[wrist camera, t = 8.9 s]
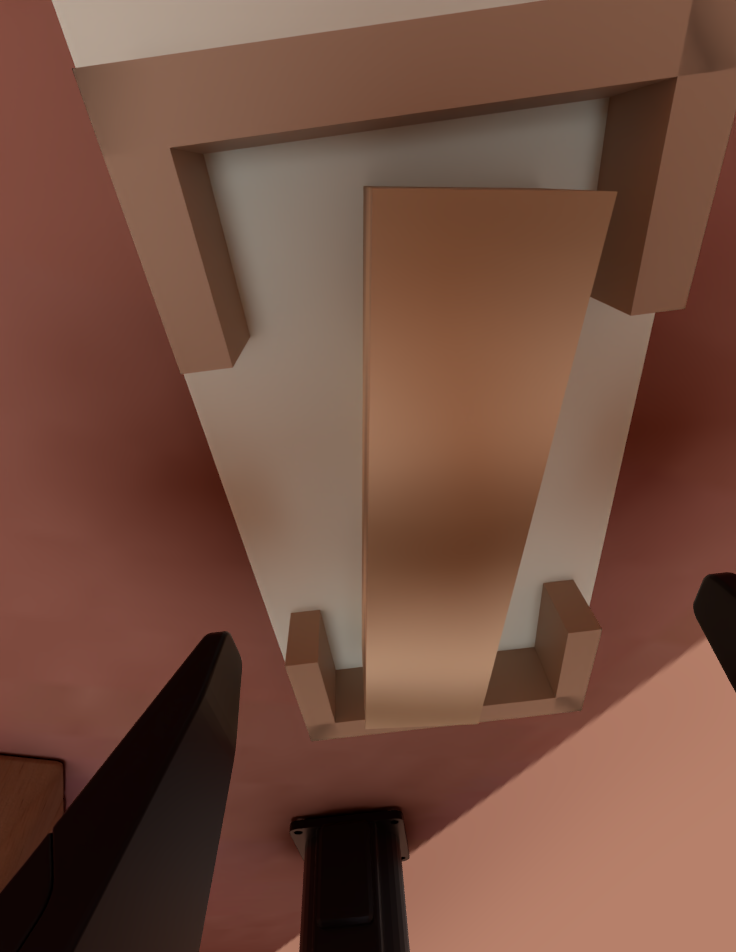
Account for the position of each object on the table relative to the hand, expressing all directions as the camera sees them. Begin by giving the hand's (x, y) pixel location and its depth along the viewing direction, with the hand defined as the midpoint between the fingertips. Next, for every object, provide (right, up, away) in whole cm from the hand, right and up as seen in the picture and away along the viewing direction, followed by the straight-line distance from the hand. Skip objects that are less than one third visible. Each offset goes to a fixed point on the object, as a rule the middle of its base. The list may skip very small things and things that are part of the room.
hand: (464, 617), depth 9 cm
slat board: (0, +3, +5) cm, 6 cm away
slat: (0, +3, +4) cm, 5 cm away
